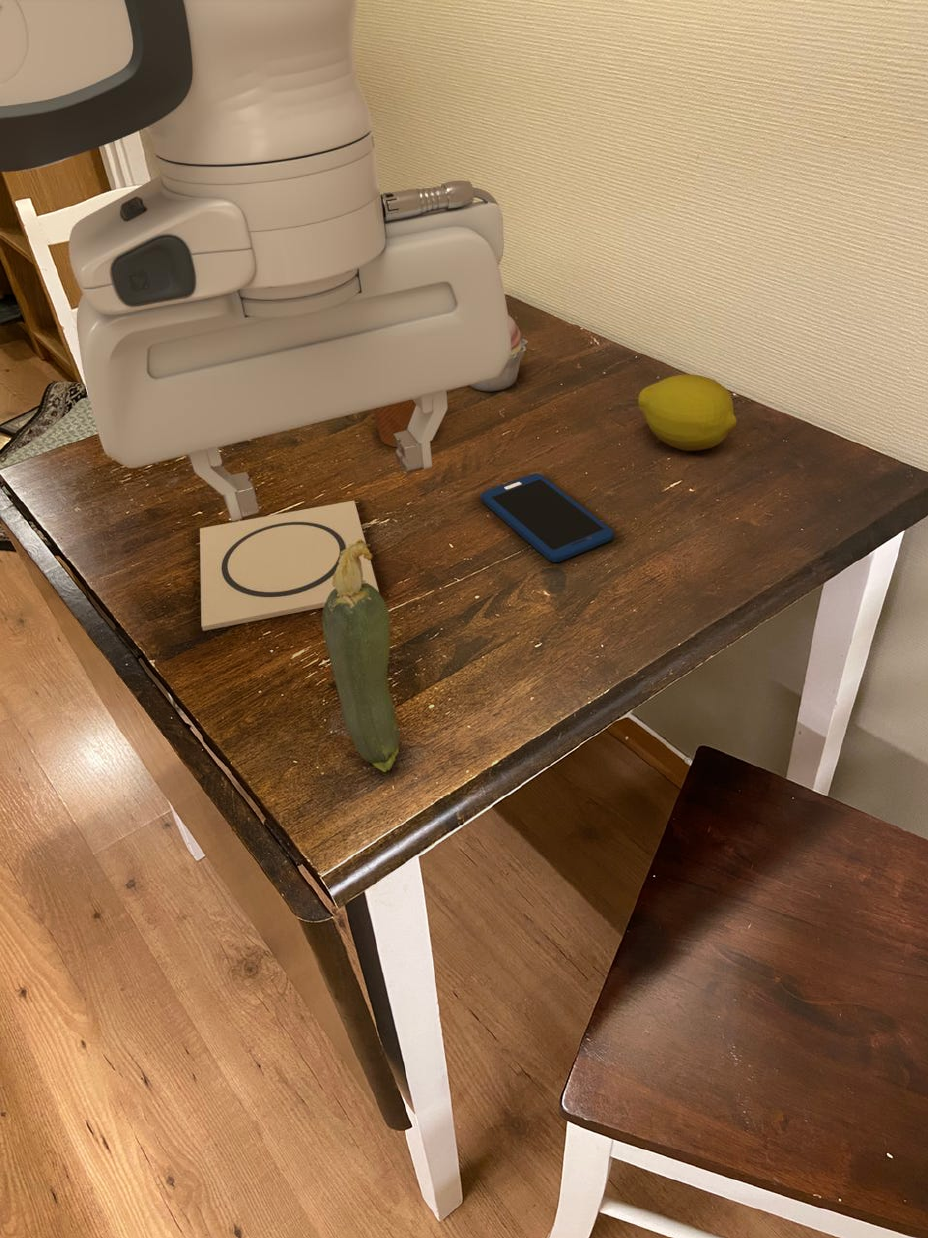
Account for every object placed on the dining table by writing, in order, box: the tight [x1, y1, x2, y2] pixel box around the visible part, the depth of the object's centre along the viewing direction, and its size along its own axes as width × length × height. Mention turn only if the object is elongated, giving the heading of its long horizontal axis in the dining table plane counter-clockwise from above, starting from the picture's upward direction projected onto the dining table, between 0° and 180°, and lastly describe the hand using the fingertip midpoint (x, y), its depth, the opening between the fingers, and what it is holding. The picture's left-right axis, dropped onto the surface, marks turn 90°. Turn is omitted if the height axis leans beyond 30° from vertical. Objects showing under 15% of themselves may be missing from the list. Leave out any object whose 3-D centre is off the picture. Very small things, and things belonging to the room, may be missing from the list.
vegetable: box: [321, 539, 401, 773], centre depth 60 cm, size 4×4×20 cm
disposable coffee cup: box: [372, 399, 416, 448], centre depth 100 cm, size 10×10×12 cm
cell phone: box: [480, 473, 615, 563], centre depth 88 cm, size 7×14×1 cm, turn 30°
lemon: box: [637, 374, 738, 452], centre depth 95 cm, size 11×8×8 cm
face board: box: [199, 500, 380, 632], centre depth 85 cm, size 16×16×1 cm
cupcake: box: [469, 314, 529, 392], centre depth 109 cm, size 9×9×10 cm
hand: (331, 488), depth 47 cm, fingers open, 8 cm apart
